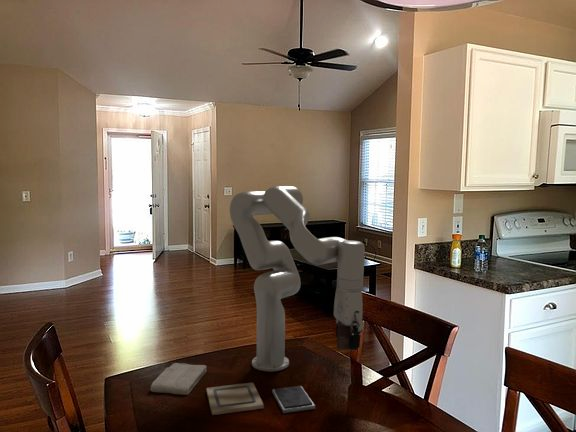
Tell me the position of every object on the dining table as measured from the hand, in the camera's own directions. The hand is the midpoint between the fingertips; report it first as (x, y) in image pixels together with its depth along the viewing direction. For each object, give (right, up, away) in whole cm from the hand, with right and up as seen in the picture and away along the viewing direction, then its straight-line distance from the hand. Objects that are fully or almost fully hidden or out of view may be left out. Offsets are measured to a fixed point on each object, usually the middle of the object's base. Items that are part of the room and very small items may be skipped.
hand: (347, 342), depth 132 cm
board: (-33, -15, -4) cm, 36 cm away
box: (0, -2, 0) cm, 2 cm away
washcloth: (-51, -15, +8) cm, 53 cm away
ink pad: (-16, -16, -4) cm, 23 cm away
